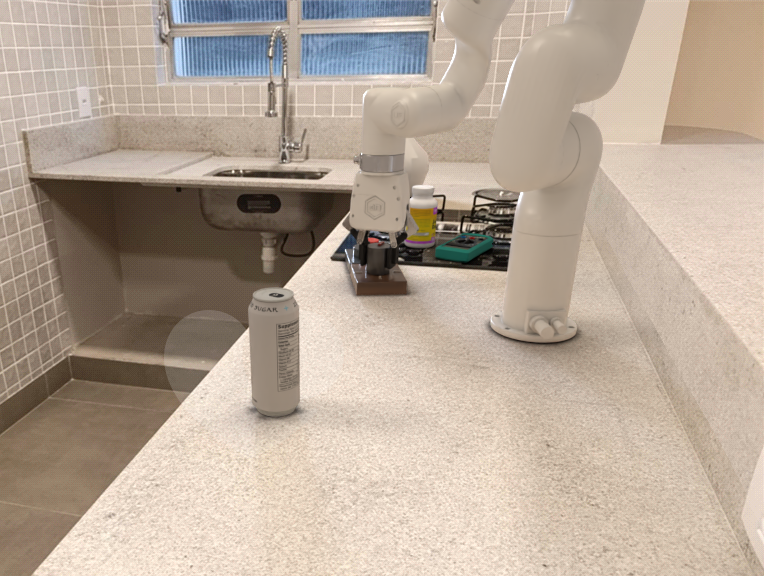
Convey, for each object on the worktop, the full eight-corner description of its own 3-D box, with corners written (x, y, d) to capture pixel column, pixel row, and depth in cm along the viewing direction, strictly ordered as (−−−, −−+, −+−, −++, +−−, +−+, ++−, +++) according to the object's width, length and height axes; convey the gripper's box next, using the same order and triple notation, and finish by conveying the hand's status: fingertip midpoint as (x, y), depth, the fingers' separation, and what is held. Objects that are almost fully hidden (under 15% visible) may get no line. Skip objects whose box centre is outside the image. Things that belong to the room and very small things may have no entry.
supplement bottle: (434, 249, 152) (439, 189, 147) (404, 249, 153) (407, 189, 148) (434, 241, 158) (438, 184, 152) (404, 241, 159) (407, 184, 154)
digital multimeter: (494, 248, 152) (495, 234, 150) (467, 264, 141) (468, 250, 140) (461, 244, 156) (463, 231, 154) (433, 259, 145) (434, 245, 144)
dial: (384, 276, 127) (386, 248, 125) (362, 273, 129) (363, 245, 127) (393, 270, 131) (394, 242, 128) (370, 267, 133) (371, 240, 130)
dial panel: (406, 294, 125) (407, 280, 124) (356, 295, 126) (356, 281, 125) (396, 275, 136) (397, 261, 135) (350, 276, 137) (350, 263, 136)
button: (379, 250, 140) (380, 241, 139) (361, 251, 140) (361, 242, 139) (377, 245, 143) (377, 237, 142) (359, 246, 143) (360, 238, 142)
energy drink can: (272, 392, 92) (268, 282, 85) (309, 404, 88) (309, 291, 82) (242, 410, 87) (236, 296, 81) (280, 423, 84) (277, 305, 77)
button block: (395, 272, 138) (396, 253, 136) (349, 274, 138) (349, 254, 136) (387, 257, 148) (388, 239, 146) (344, 259, 148) (345, 240, 146)
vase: (360, 202, 200) (364, 90, 188) (366, 190, 216) (370, 86, 204) (426, 203, 196) (434, 88, 183) (427, 191, 212) (434, 85, 199)
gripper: (329, 165, 123) (328, 265, 130) (422, 169, 115) (415, 276, 123) (346, 159, 128) (344, 256, 136) (436, 162, 121) (428, 265, 128)
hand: (378, 264), depth 129 cm, fingers closed on dial, 4 cm apart
